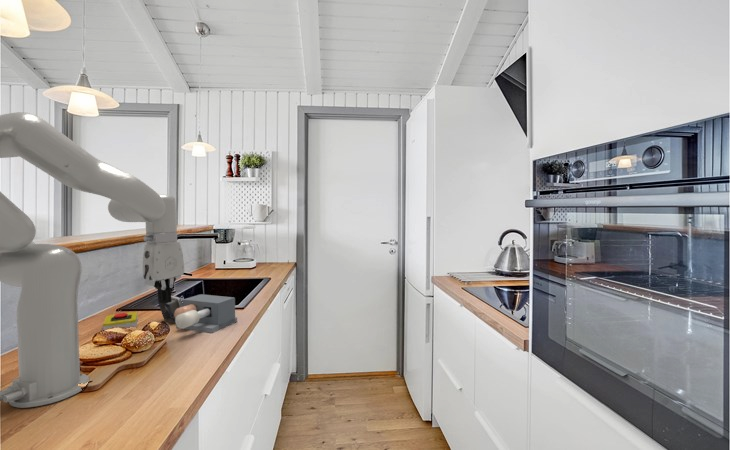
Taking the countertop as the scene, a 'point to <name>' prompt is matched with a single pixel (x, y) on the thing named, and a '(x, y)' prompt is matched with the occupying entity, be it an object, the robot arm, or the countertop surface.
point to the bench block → (212, 312)
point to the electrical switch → (170, 309)
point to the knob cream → (191, 317)
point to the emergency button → (121, 320)
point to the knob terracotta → (184, 309)
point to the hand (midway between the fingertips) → (165, 302)
